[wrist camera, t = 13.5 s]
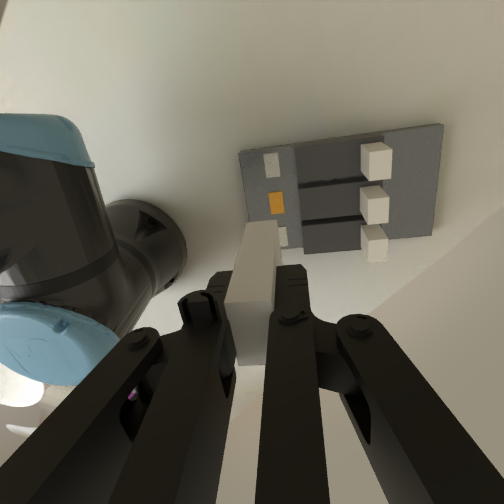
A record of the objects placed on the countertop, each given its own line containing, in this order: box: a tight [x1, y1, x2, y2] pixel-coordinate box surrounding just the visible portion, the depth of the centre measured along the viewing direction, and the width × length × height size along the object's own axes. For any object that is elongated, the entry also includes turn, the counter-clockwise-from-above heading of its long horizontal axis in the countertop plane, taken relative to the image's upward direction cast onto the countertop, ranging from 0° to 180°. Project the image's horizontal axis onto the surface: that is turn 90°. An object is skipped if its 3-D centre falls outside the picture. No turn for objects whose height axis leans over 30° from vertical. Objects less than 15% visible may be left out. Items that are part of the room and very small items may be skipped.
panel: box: [238, 123, 444, 249], centre depth 43 cm, size 24×14×2 cm, turn 98°
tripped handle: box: [360, 185, 389, 225], centre depth 38 cm, size 2×3×4 cm
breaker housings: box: [294, 133, 392, 263], centre depth 39 cm, size 10×14×7 cm
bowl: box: [0, 363, 50, 407], centre depth 59 cm, size 16×16×8 cm
